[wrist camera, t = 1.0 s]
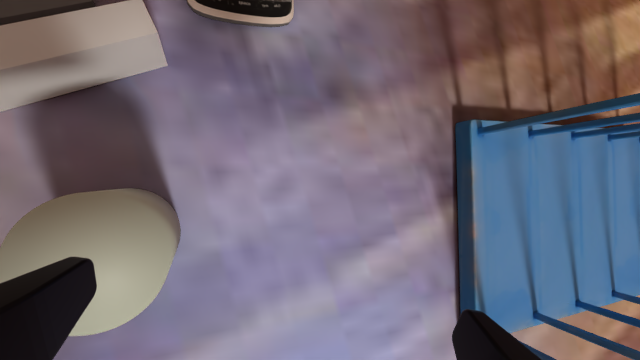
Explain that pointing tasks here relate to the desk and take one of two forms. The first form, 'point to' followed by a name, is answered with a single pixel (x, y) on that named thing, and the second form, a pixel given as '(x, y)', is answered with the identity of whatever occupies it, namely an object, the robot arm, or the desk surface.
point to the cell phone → (246, 11)
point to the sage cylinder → (100, 248)
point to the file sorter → (550, 218)
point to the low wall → (76, 51)
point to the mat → (37, 8)
